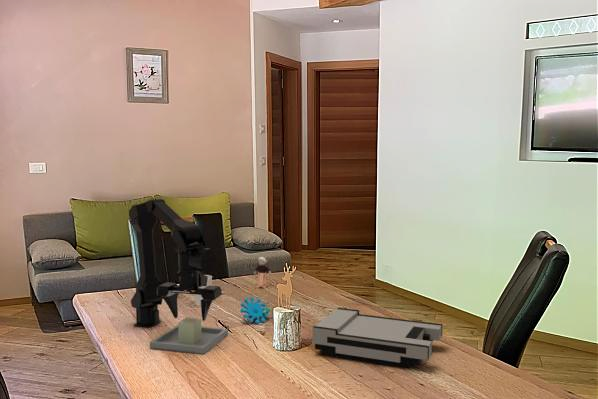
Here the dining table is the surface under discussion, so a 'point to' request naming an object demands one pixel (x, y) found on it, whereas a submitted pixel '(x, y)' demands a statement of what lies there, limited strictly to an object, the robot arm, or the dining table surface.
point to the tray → (171, 343)
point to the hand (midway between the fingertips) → (190, 319)
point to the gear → (255, 310)
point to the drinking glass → (209, 282)
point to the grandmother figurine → (262, 273)
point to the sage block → (189, 330)
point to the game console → (375, 338)
